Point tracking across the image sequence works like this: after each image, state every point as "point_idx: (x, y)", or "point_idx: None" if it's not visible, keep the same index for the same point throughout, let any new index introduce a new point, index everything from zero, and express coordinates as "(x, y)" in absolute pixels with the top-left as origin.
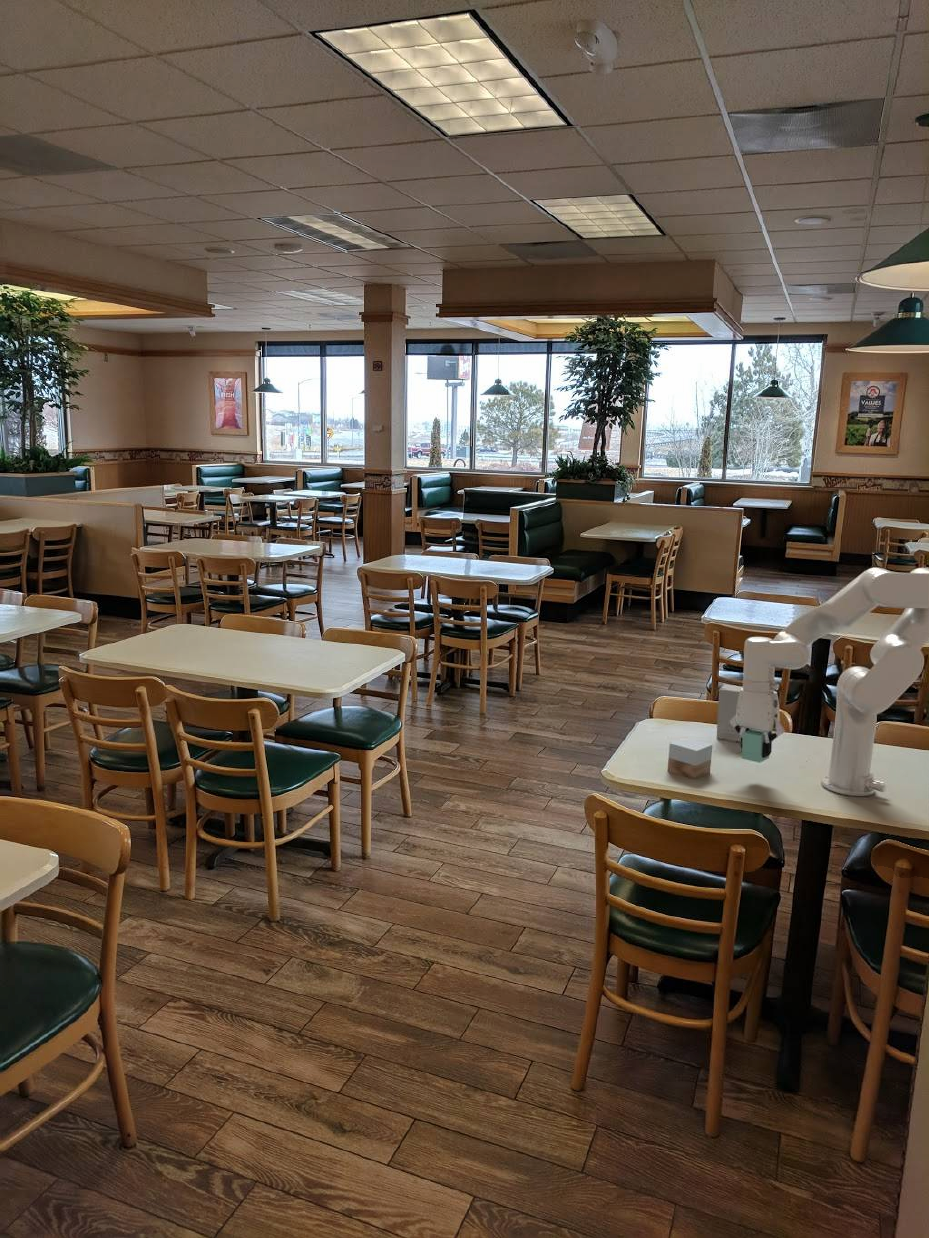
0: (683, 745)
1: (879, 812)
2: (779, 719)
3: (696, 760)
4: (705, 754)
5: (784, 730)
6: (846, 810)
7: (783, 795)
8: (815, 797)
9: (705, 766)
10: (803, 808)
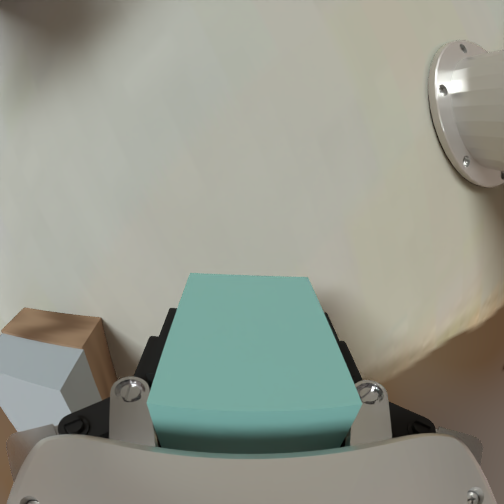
0: None
1: None
2: (490, 499)
3: None
4: (87, 405)
5: (479, 451)
6: (488, 286)
7: (369, 323)
8: (440, 263)
9: (98, 364)
10: (418, 355)
